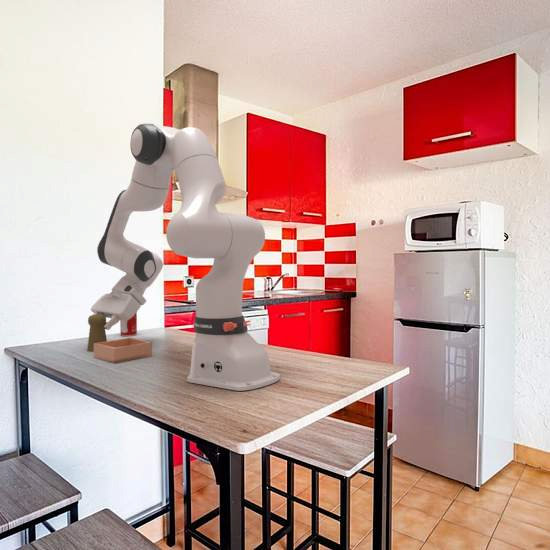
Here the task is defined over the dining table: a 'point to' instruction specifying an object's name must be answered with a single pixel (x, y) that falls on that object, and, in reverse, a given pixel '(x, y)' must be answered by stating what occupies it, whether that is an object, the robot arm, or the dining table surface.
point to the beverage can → (129, 326)
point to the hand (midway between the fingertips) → (97, 327)
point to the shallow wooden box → (122, 350)
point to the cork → (96, 330)
